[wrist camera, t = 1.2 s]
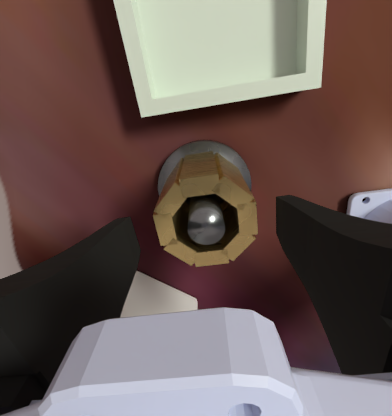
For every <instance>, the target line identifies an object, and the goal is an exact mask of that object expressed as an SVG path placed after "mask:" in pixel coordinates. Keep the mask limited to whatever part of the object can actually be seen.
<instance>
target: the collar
mask: <svg viewBox="0 0 392 416" xmlns="http://www.w3.org/2000/svg"><path fill="white" fill-rule="evenodd" d="M208 194H217V195H218V196H220V197H221V198H223V199H224V201H223V202H222V203H221V209H222V214H223V219H224V224H225V232H224V235H223V237H222V238H221V239H220V240H219V241H218V242H216V243H214V244H210V245H203V244H199V243H197V242H195V241H193V240H192V239H191V237H190V236H189V234H188V218H189V208H190V205H189V204H187V203H186V202H184V201H185V200H186V199H187V197H194V196H201V195H208ZM153 218H154V222H155V226H156V230H157V234H158V237H159V241H160V245H161V246H164V250H165V251H167V252H169V253H170V254H172V255H174V256H175V257H177V258H179V259H181V260H182V261H184V262H186V263H187V264H189V265H191V266H192V265H193V264H194V263H195V265H196V267H199V266H208V265H216V264H225V263H229V259H231V260H232V261H234V260H235V259H236V258H237V257H238V256H239V255H240V254H241V253H242V252H243V251H244V250H245V249H246V248H247V247H248V246H249V245H250V244H251V243H252V242H253V241H254V240H255V239H256V237H255V234H258V229H257V210H256V201H255V199H254V197H253V195H252V193H251V191H250V189H249V188H248V186H247V184H246V182H245V180H244V178H243V176H242V174H241V172H240V171H239V169H238V168H237V167H236V166H235V165H233V164H232V163H231V162H229V161H228V160H227V159H225V158H224V157H223V156H221V155H220V154H219V153H218V152H216V153H215V155H214V153H213V151H209V152H203V153H196V154H190V155H185V158H181V159H180V161H179V162H178V164H177V165H176V166H175V168H174V169H173V171H172V172H171V173H170V175H169V176H168V178H167V179H166V182H165V184H164V187H163V189H162V192H161V194H160V197H159V199H158V202H157V204H156V206H155V209H154V214H153ZM228 258H229V259H228Z"/></svg>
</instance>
